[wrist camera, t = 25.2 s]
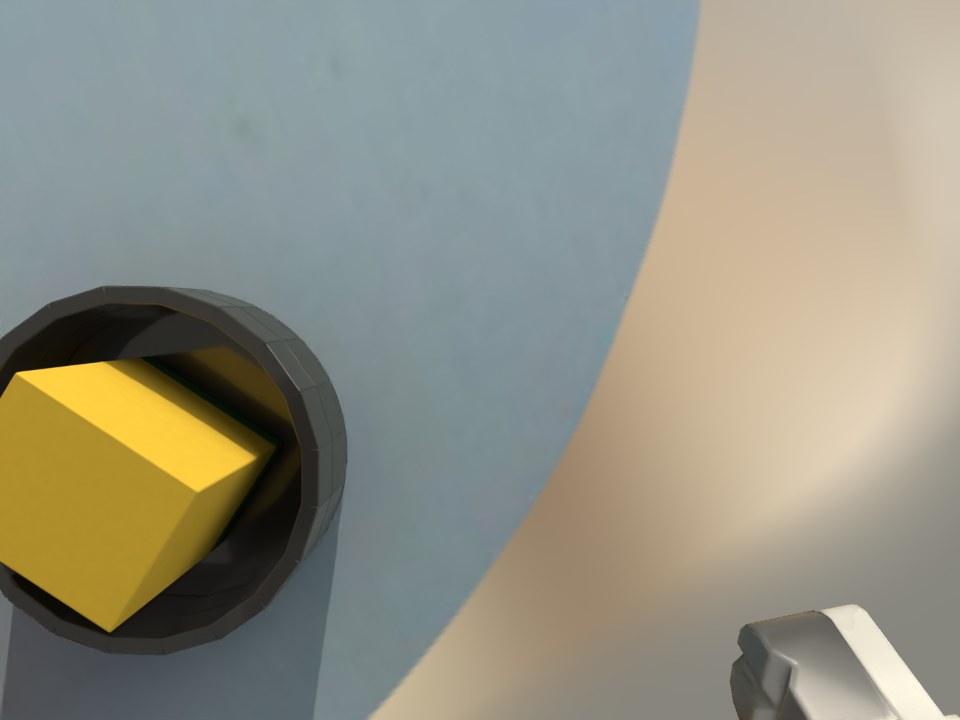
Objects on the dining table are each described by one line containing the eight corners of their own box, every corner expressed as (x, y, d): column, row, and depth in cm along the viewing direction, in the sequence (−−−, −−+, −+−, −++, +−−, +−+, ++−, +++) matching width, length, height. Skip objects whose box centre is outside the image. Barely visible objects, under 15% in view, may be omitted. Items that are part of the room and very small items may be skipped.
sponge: (283, 443, 29) (199, 491, 21) (216, 548, 30) (109, 634, 22) (149, 355, 29) (15, 371, 21) (83, 461, 30) (-72, 515, 22)
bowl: (224, 226, 30) (173, 210, 25) (410, 490, 30) (392, 521, 26) (-28, 409, 30) (-121, 425, 26) (156, 664, 31) (96, 724, 26)
